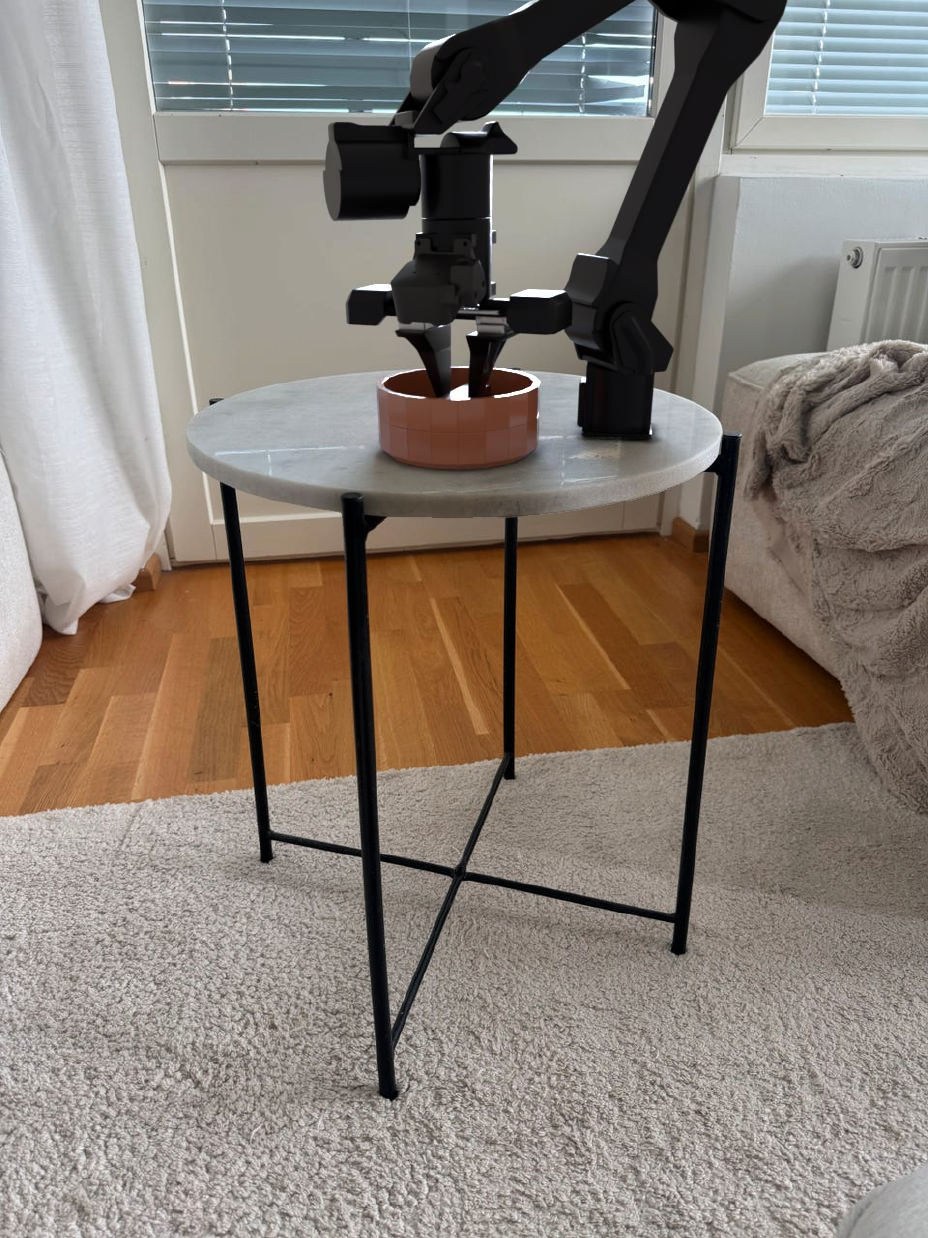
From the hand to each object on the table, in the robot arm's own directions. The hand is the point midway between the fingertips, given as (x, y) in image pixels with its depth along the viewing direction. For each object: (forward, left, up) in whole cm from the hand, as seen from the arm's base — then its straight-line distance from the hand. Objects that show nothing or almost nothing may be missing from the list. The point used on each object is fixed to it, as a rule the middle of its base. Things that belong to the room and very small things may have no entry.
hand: (458, 410), depth 81 cm
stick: (0, 0, -1) cm, 1 cm away
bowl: (0, 0, -4) cm, 4 cm away
